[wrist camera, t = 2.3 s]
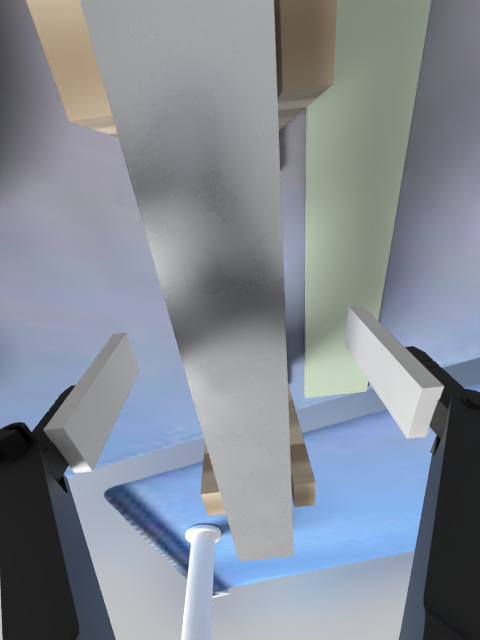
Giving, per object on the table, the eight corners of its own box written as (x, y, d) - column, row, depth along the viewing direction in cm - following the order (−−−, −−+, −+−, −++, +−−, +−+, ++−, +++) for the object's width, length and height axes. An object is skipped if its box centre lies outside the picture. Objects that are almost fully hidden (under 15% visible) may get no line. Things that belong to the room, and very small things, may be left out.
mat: (306, -5, 17) (308, -9, 17) (431, -24, 17) (436, -29, 16) (304, 395, 35) (305, 398, 34) (364, 388, 34) (366, 391, 34)
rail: (107, -99, 8) (-48, -444, 3) (240, -121, 8) (255, -507, 3) (237, 489, 23) (239, 561, 19) (281, 484, 23) (293, 556, 19)
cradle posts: (142, 62, 18) (-76, -215, 5) (270, 43, 18) (376, -296, 5) (216, 393, 34) (207, 531, 21) (285, 386, 34) (320, 520, 21)
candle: (184, 539, 54) (153, 791, 32) (187, 522, 50) (155, 790, 28) (218, 541, 54) (210, 786, 33) (224, 524, 51) (220, 786, 29)
